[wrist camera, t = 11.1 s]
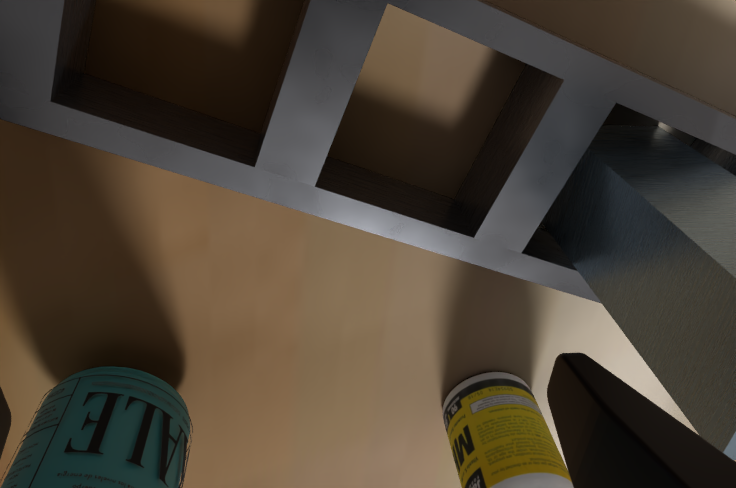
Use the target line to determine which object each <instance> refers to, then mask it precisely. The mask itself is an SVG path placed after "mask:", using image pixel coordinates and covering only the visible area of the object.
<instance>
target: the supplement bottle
mask: <svg viewBox="0 0 736 488" xmlns="http://www.w3.org/2000/svg"><path fill="white" fill-rule="evenodd" d="M443 419H444V424H445V427H446V431H447V435H448V438H449V442H450V446H451V449H452V453H453V457H454V461H455V464H456V468H457V472H458V475H459V479H460V482H461V486H462V488H574V487H573V484H572V481H571V478H570V475H569V472H568V470H567V468H566V466H565V463H564V461H563V459H562V457H561V455H560V453H559V451H558V448H557V446H556V444H555V442H554V440H553V437H552V435H551V433H550V431H549V429H548V426H547V424H546V422H545V420H544V417H543V415H542V413H541V411H540V409H539V406H538V404H537V402H536V400H535V398H534V395H533V394H532V391H531V390H530V388H529V386H528V385H527V384H526V383H525V382H524V381H523V380H522V379H520V378H519V377H517V376H515V375H512V374H509V373H504V372H490V373H484V374H480V375H477V376H474V377H471V378H469V379H467V380H465V381H463V382H462V383H460V384H459V385H457V386H456V387H455V388H454V389H453V390H452V391H451V392H450V393H449V395H448V396H447V398H446V400H445V402H444V406H443Z"/></svg>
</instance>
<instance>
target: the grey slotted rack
mask: <svg viewBox="0 0 736 488" xmlns="http://www.w3.org/2000/svg"><path fill="white" fill-rule="evenodd" d="M95 3H96V0H0V119H2V120H5V121H9V122H12V123H15V124H18V125H22V126H25V127H28V128H32V129H35V130H38V131H41V132H45V133H48V134H51V135H54V136H58V137H61V138H64V139H67V140H71V141H74V142H77V143H80V144H84V145H87V146H90V147H93V148H97V149H100V150H103V151H106V152H110V153H113V154H116V155H120V156H123V157H126V158H129V159H133V160H136V161H139V162H142V163H146V164H149V165H152V166H155V167H159V168H162V169H165V170H168V171H172V172H175V173H178V174H181V175H185V176H188V177H191V178H194V179H198V180H201V181H204V182H207V183H211V184H214V185H217V186H221V187H224V188H227V189H230V190H234V191H237V192H240V193H243V194H247V195H250V196H253V197H256V198H260V199H263V200H266V201H269V202H273V203H276V204H279V205H282V206H286V207H289V208H292V209H295V210H299V211H302V212H305V213H309V214H312V215H315V216H318V217H322V218H325V219H328V220H331V221H335V222H338V223H341V224H344V225H348V226H351V227H354V228H357V229H361V230H364V231H367V232H370V233H374V234H377V235H380V236H383V237H387V238H390V239H393V240H397V241H400V242H403V243H406V244H410V245H413V246H416V247H419V248H423V249H426V250H429V251H432V252H436V253H439V254H442V255H445V256H449V257H452V258H455V259H458V260H462V261H465V262H468V263H471V264H475V265H478V266H481V267H485V268H488V269H491V270H494V271H498V272H501V273H504V274H507V275H511V276H514V277H517V278H520V279H524V280H527V281H530V282H533V283H537V284H540V285H543V286H546V287H550V288H553V289H556V290H559V291H563V292H566V293H569V294H573V295H576V296H579V297H582V298H586V299H589V300H592V301H595V302H599V303H601V302H600V300H599V299H598V297H597V296H596V295H595V293H594V292H593V291H592V289H591V288H590V287H589V285H588V284H587V283H586V281H585V280H584V279H583V277H582V276H581V275H580V273H579V272H578V271H577V269H576V268H575V266H574V265H573V264H572V262H571V261H570V260H569V258H568V257H567V256H566V254H565V253H564V252H563V250H562V249H561V248H560V246H559V245H558V244H557V242H556V241H555V239H554V238H553V237H552V235H551V234H550V233H549V232H548V231H545V230H542V229H539V228H537V227H538V226H539V224H540V223H541V221H542V219H543V218H544V216H545V215H546V213H547V212H548V210H549V208H550V207H551V205H552V204H553V202H554V200H555V199H556V197H557V196H558V194H559V192H560V191H561V189H562V188H563V186H564V185H565V183H566V181H567V180H568V178H569V177H570V175H571V173H572V172H573V170H574V169H575V167H576V165H577V164H578V162H579V161H580V159H581V158H582V156H583V154H584V153H585V151H586V150H587V148H588V146H589V145H590V143H591V142H592V140H593V138H594V137H595V135H596V134H597V132H598V131H599V129H600V127H601V126H602V124H603V123H604V121H605V119H606V118H607V116H608V115H609V113H610V112H611V110H612V108H613V107H614V105H615V104H616V103H618V104H621V105H623V106H625V107H628V108H630V109H632V110H634V111H637V112H639V113H641V114H644V115H646V116H648V117H651V118H653V119H655V120H657V121H660V122H662V123H664V124H667V125H669V126H671V127H674V128H676V129H678V130H680V131H683V132H685V133H687V134H690V135H692V136H694V137H696V140H695V141H694V143H693V144H692V145H691V148H693V149H694V150H696V151H697V152H699V153H701V154H702V155H704V156H705V157H707V158H708V159H710V160H711V161H713V162H715V163H716V164H718V165H719V166H721V167H722V168H724V169H725V170H727V171H729V172H730V173H732V174H733V175H735V176H736V116H734V115H732V114H729V113H727V112H725V111H723V110H721V109H719V108H716V107H714V106H712V105H710V104H708V103H706V102H703V101H701V100H699V99H697V98H695V97H693V96H690V95H688V94H686V93H684V92H682V91H680V90H677V89H675V88H673V87H671V86H669V85H667V84H664V83H662V82H660V81H658V80H656V79H654V78H651V77H649V76H647V75H645V74H643V73H641V72H638V71H636V70H634V69H632V68H630V67H628V66H625V65H623V64H621V63H619V62H617V61H615V60H612V59H610V58H608V57H606V56H604V55H602V54H599V53H597V52H595V51H593V50H591V49H589V48H586V47H584V46H582V45H580V44H578V43H576V42H573V41H571V40H569V39H567V38H565V37H563V36H560V35H558V34H556V33H554V32H552V31H550V30H547V29H545V28H543V27H541V26H539V25H537V24H534V23H532V22H530V21H528V20H526V19H524V18H521V17H519V16H517V15H515V14H513V13H511V12H508V11H506V10H504V9H502V8H500V7H498V6H495V5H493V4H491V3H489V2H487V1H485V0H304V2H303V5H302V8H301V11H300V14H299V18H298V21H297V24H296V27H295V30H294V33H293V36H292V39H291V42H290V45H289V48H288V51H287V54H286V57H285V60H284V63H283V66H282V69H281V72H280V75H279V78H278V81H277V84H276V87H275V90H274V93H273V96H272V99H271V102H270V106H269V109H268V112H267V115H266V118H265V121H264V124H263V127H262V130H261V133H257V132H254V131H251V130H248V129H245V128H243V127H240V126H237V125H234V124H231V123H228V122H225V121H222V120H219V119H216V118H213V117H210V116H207V115H204V114H201V113H198V112H195V111H193V110H190V109H187V108H184V107H181V106H178V105H175V104H172V103H169V102H166V101H163V100H160V99H157V98H154V97H151V96H148V95H146V94H143V93H140V92H137V91H134V90H131V89H128V88H125V87H122V86H119V85H116V84H113V83H110V82H107V81H104V80H101V79H99V78H96V77H93V76H90V75H87V74H84V71H85V65H86V58H87V52H88V46H89V40H90V34H91V28H92V22H93V16H94V9H95ZM387 3H389V4H391V5H393V6H396V7H398V8H400V9H403V10H405V11H407V12H410V13H412V14H414V15H416V16H419V17H421V18H423V19H426V20H428V21H430V22H432V23H435V24H437V25H439V26H442V27H444V28H446V29H449V30H451V31H453V32H455V33H458V34H460V35H462V36H465V37H467V38H469V39H472V40H474V41H476V42H478V43H481V44H483V45H485V46H488V47H490V48H492V49H494V50H497V51H499V52H501V53H504V54H506V55H508V56H511V57H513V58H515V59H517V60H520V61H522V62H524V63H527V65H526V66H525V68H524V70H523V72H522V74H521V76H520V78H519V79H518V81H517V83H516V85H515V87H514V89H513V91H512V93H511V94H510V96H509V98H508V100H507V102H506V104H505V106H504V108H503V109H502V111H501V113H500V115H499V117H498V119H497V121H496V123H495V124H494V126H493V128H492V130H491V132H490V134H489V136H488V138H487V139H486V141H485V143H484V145H483V147H482V149H481V151H480V152H479V154H478V156H477V158H476V160H475V162H474V164H473V166H472V167H471V169H470V171H469V173H468V175H467V177H466V179H465V181H464V182H463V184H462V186H461V188H460V190H459V192H458V194H457V196H456V197H455V199H451V198H448V197H445V196H442V195H439V194H437V193H434V192H431V191H428V190H425V189H422V188H419V187H416V186H413V185H410V184H407V183H404V182H401V181H398V180H395V179H392V178H389V177H387V176H384V175H381V174H378V173H375V172H372V171H369V170H366V169H363V168H360V167H357V166H354V165H351V164H348V163H345V162H342V161H340V160H337V159H334V158H331V157H328V156H327V154H328V152H329V149H330V147H331V144H332V142H333V139H334V136H335V134H336V131H337V129H338V126H339V124H340V121H341V119H342V116H343V114H344V111H345V109H346V106H347V104H348V101H349V99H350V96H351V94H352V91H353V89H354V86H355V84H356V81H357V79H358V76H359V73H360V71H361V68H362V66H363V63H364V61H365V58H366V56H367V53H368V51H369V48H370V46H371V43H372V41H373V38H374V36H375V33H376V31H377V28H378V26H379V23H380V21H381V18H382V16H383V13H384V10H385V8H386V5H387Z"/></svg>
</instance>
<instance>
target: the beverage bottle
mask: <svg viewBox="0 0 736 488" xmlns="http://www.w3.org/2000/svg"><path fill="white" fill-rule="evenodd" d="M51 390H52V389H51ZM51 390H50V391H51ZM47 393H48V392H47ZM47 393H46V394H47ZM46 394H45V395H46ZM45 395H44V396H45ZM42 399H43V398H42ZM41 401H42V400H41ZM40 403H41V402H40ZM39 405H40V404H39ZM38 407H39V406H38ZM37 409H38V408H37ZM36 411H37V410H36ZM37 412H38V413H37V415H36V417H35V419H34V422H33V424H32V426H31V428H30V430H29V432H27V433H26V434H25V435H27V436H26V438H25V439H24V440H23V441H24V442H23V441H22V442H23V444H22V446H21V448H20V450H19V452H18V454H17V456H16V458H15V460H14V462H13V464H12V466H11V468H10V470H9V472H8V474H7V476H6V477H5V479H4V482H3V484H2V486H1V488H181V487H180V486H181V484H182V487H183V483H182V481H183V482H184V477H185V472H184V467H185V460H186V459H185V458H186V452H187V451H186V448H187V443H188V438H189V434H190V433H189V432H190V421H191V419H190V417H189V414H188V410H187V407H186V404H185V402H184V400H183V399H182V397H181V396H180V395H179V394H178V392H177V391H176V390H175V389H174V388H173V387H172V386H170V385H169V384H168V383H166V382H165V381H163V380H161V379H160V378H158V377H156V376H154V375H151V374H149V373H146V372H143V371H140V370H136V369H132V368H125V367H114V366H109V367H96V368H91V369H86V370H83V371H80V372H78V373H75V374H73V375H71V376H69V377H68V378H66V379H64V380H63V381H62V382H61V383H59V384H58V385H57V386H56V387H54V388H53V390H52V391H51V392H50V393H49V394H48V395H47V397H46V398H45V400H44V402H43V403H42V405H41V407H40V409H39V410H38V411H37ZM35 413H36V412H35ZM34 415H35V414H34ZM33 417H34V416H33ZM32 419H33V418H32ZM189 419H190V420H189ZM31 421H32V420H31ZM30 423H31V422H30ZM191 425H192V423H191ZM192 432H193V427H192ZM25 435H24V436H25ZM190 436H191V435H190ZM192 436H193V435H192ZM190 439H191V438H190ZM22 442H21V443H22ZM21 443H20V444H21ZM190 444H191V443H190ZM18 446H19V445H18ZM189 447H191V446H189ZM17 448H18V447H17ZM16 450H17V449H16ZM187 450H188V449H187ZM189 451H190V450H189ZM15 452H16V451H15ZM14 454H15V453H14ZM13 456H14V455H13ZM188 457H189V452H188ZM188 457H187V461H188ZM12 458H13V457H12ZM11 460H12V459H11ZM10 462H11V461H10ZM9 464H10V463H9ZM8 466H9V465H8ZM186 466H187V462H186ZM7 468H8V467H7ZM6 470H7V469H6ZM185 471H186V467H185ZM5 472H6V471H5ZM181 472H182V475H181ZM4 474H5V473H4ZM183 474H184V475H183ZM3 476H4V475H3ZM180 477H181V482H180ZM2 478H3V477H2ZM179 482H180V484H179Z"/></svg>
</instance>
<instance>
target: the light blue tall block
mask: <svg viewBox="0 0 736 488" xmlns="http://www.w3.org/2000/svg"><path fill="white" fill-rule="evenodd" d="M541 222H542V223H543V225H544V226H545V227H546V229H547V230H548V231H549V233H550V234H551V235H552V237H553V238H554V239H555V241H556V242H557V244H558V245H559V246H560V248H561V249H562V250H563V252H564V253H565V254H566V256H567V257H568V258H569V260H570V261H571V262H572V264H573V265H574V266H575V268H576V269H577V271H578V272H579V273H580V275H581V276H582V277H583V279H584V280H585V281H586V283H587V284H588V285H589V287H590V288H591V289H592V291H593V292H594V293H595V295H596V296H597V297H598V299H599V300H600V302H601V303H602V304H603V306H604V307H605V308H606V310H607V311H608V312H609V314H610V315H611V316H612V318H613V319H614V320H615V322H616V323H617V324H618V326H619V327H620V329H621V330H622V331H623V333H624V334H625V335H626V337H627V338H628V339H629V341H630V342H631V343H632V345H633V346H634V347H635V349H636V350H637V351H638V353H639V354H640V356H641V357H642V358H643V360H644V361H645V362H646V364H647V365H648V366H649V368H650V369H651V370H652V372H653V373H654V374H655V376H656V377H657V378H658V380H659V381H660V382H661V384H662V385H663V387H664V388H665V389H666V391H667V392H668V393H669V395H670V396H671V397H672V399H673V400H674V401H675V403H676V404H677V405H678V407H679V408H680V409H681V411H682V412H683V414H684V415H685V416H686V418H687V419H688V420H689V422H690V423H691V424H692V426H693V427H694V428H695V430H696V431H697V432H698V434H699V435H700V436H701V437H702V438H703V439H705V440H706V441H707V442H709V443H710V444H712V445H713V446H714V447H716V448H717V449H719V450H720V451H721V452H723V453H724V454H726V455H727V456H728V457H730V458H731V459H733V460H736V176H735V175H733V174H732V173H730V172H729V171H727V170H725V169H724V168H722V167H721V166H719V165H718V164H716V163H715V162H713V161H711V160H710V159H708V158H707V157H705V156H704V155H702V154H701V153H699V152H697V151H696V150H694V149H693V148H691V147H690V146H688V145H687V144H685V143H683V142H682V141H680V140H679V139H677V138H676V137H674V136H673V135H671V134H670V133H668V132H666V131H665V130H663V129H662V128H660V127H659V126H619V125H602V126H601V127H600V129H599V131H598V132H597V134H596V135H595V137H594V138H593V140H592V142H591V143H590V145H589V146H588V148H587V150H586V151H585V153H584V154H583V156H582V158H581V159H580V161H579V162H578V164H577V165H576V167H575V169H574V170H573V172H572V173H571V175H570V177H569V178H568V180H567V181H566V183H565V185H564V186H563V188H562V189H561V191H560V192H559V194H558V196H557V197H556V199H555V200H554V202H553V204H552V205H551V207H550V208H549V210H548V212H547V213H546V215H545V216H544V218H543V219H542V221H541Z"/></svg>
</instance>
